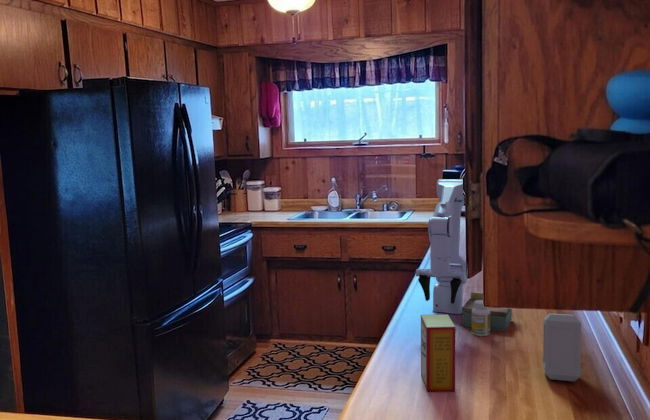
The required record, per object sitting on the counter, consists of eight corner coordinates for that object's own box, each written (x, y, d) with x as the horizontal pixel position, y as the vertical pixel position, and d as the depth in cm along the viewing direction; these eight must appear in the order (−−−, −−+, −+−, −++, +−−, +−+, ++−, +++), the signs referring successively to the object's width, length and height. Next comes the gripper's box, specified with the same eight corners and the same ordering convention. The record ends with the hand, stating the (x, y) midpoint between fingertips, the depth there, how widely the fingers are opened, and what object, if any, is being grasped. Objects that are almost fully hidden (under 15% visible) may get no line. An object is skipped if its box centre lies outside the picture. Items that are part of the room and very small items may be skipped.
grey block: (538, 309, 168) (545, 314, 140) (568, 310, 166) (581, 316, 138) (538, 362, 167) (544, 379, 138) (567, 365, 164) (580, 382, 136)
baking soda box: (421, 375, 146) (420, 313, 144) (447, 375, 146) (447, 312, 144) (426, 392, 136) (426, 325, 134) (455, 391, 136) (455, 325, 134)
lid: (462, 311, 181) (462, 299, 180) (470, 301, 191) (470, 290, 190) (506, 315, 175) (506, 304, 175) (512, 305, 185) (512, 294, 185)
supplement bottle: (483, 329, 178) (483, 298, 177) (493, 335, 173) (494, 303, 172) (467, 331, 176) (468, 300, 175) (478, 337, 171) (478, 305, 170)
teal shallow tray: (462, 325, 181) (462, 311, 181) (470, 315, 191) (470, 302, 191) (505, 331, 176) (506, 316, 175) (511, 320, 186) (511, 306, 185)
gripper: (412, 257, 174) (412, 302, 175) (461, 261, 167) (461, 307, 169) (419, 253, 180) (419, 296, 182) (467, 256, 174) (466, 301, 175)
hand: (440, 301), depth 176 cm, fingers open, 7 cm apart
